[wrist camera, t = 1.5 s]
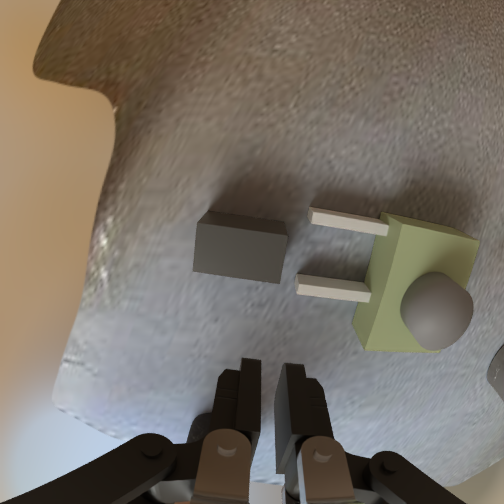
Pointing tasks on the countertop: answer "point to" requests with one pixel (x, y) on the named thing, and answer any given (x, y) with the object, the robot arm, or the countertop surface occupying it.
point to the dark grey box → (240, 247)
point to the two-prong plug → (403, 282)
